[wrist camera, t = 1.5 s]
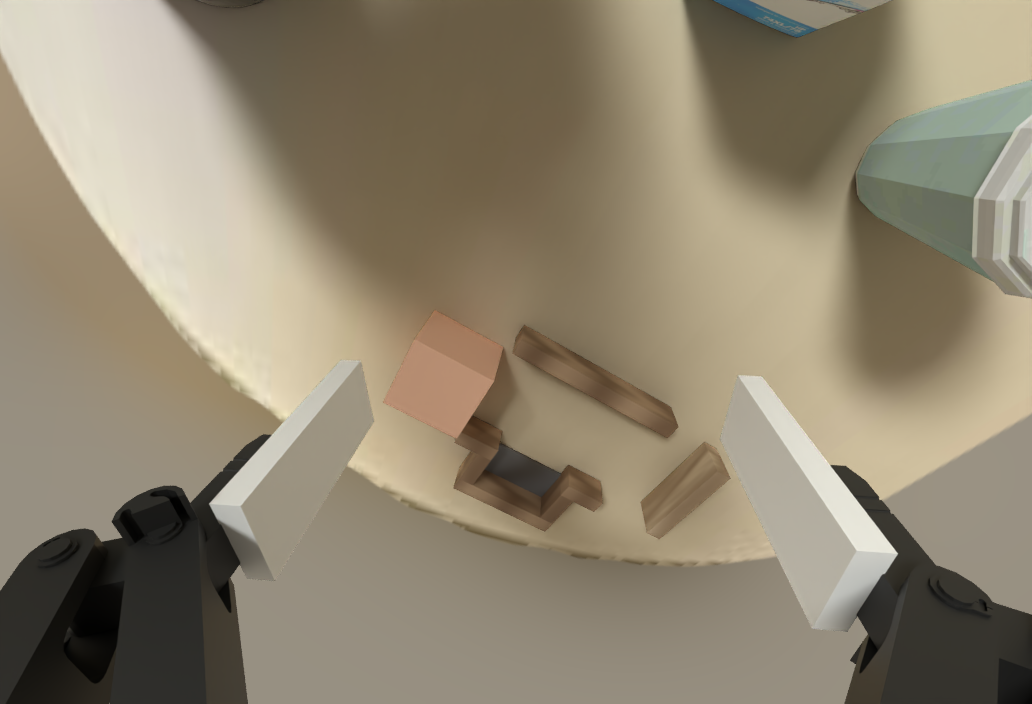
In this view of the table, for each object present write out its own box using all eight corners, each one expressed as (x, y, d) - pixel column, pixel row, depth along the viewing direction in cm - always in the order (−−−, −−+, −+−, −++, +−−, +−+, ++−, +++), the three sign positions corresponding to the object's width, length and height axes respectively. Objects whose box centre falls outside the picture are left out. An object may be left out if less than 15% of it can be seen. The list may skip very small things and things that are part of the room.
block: (405, 366, 41) (382, 402, 36) (435, 309, 38) (414, 339, 33) (470, 399, 42) (456, 438, 37) (503, 346, 39) (494, 381, 34)
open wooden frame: (439, 457, 46) (428, 484, 43) (524, 324, 38) (520, 345, 34) (614, 542, 50) (617, 574, 46) (727, 438, 41) (742, 468, 38)
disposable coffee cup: (806, 246, 32) (973, 331, 19) (837, 80, 27) (1089, 40, 14) (967, 231, 31) (1268, 312, 18) (1030, 52, 26) (1514, -22, 13)
